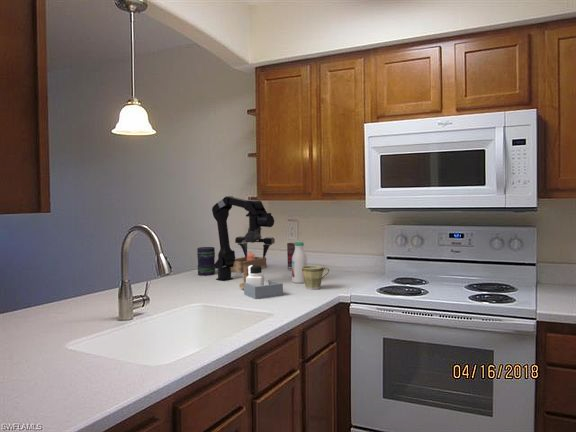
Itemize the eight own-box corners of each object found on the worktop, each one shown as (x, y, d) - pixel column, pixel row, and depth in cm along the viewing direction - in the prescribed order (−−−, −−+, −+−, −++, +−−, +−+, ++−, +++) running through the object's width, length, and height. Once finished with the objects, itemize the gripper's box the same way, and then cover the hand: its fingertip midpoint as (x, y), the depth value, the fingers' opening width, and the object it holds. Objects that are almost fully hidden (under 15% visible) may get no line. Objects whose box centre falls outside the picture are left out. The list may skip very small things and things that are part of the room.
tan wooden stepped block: (238, 287, 214) (238, 267, 214) (253, 285, 218) (253, 266, 218) (243, 289, 210) (242, 269, 209) (258, 287, 214) (258, 267, 213)
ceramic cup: (305, 291, 207) (304, 269, 207) (300, 286, 217) (299, 265, 216) (332, 289, 210) (332, 267, 209) (326, 285, 220) (326, 264, 219)
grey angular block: (244, 294, 202) (243, 283, 202) (270, 290, 209) (270, 279, 209) (255, 298, 193) (255, 287, 192) (282, 295, 199) (282, 283, 199)
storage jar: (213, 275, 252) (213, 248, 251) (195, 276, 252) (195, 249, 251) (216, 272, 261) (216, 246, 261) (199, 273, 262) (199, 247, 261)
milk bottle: (309, 281, 231) (309, 241, 230) (303, 283, 224) (303, 243, 223) (295, 280, 234) (295, 241, 234) (289, 282, 227) (288, 242, 227)
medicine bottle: (264, 289, 211) (263, 264, 211) (261, 293, 204) (261, 266, 204) (249, 289, 212) (248, 264, 211) (246, 293, 205) (245, 266, 204)
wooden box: (224, 271, 267) (223, 260, 267) (249, 265, 286) (249, 256, 286) (242, 273, 259) (242, 262, 259) (267, 267, 278) (267, 257, 278)
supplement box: (303, 270, 264) (303, 243, 264) (298, 271, 261) (297, 243, 260) (292, 269, 270) (292, 242, 270) (287, 270, 267) (286, 243, 266)
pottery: (242, 272, 263) (242, 255, 262) (229, 271, 268) (229, 254, 267) (260, 267, 278) (260, 251, 278) (247, 266, 283) (247, 251, 283)
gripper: (230, 226, 218) (230, 259, 219) (268, 227, 213) (267, 261, 214) (239, 225, 229) (239, 256, 230) (275, 226, 224) (274, 257, 225)
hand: (254, 257), depth 224 cm, fingers open, 9 cm apart
